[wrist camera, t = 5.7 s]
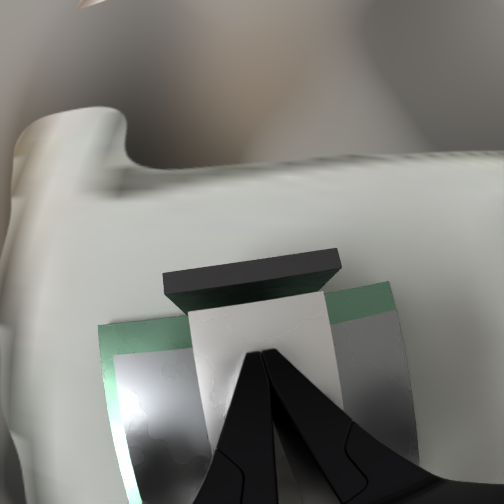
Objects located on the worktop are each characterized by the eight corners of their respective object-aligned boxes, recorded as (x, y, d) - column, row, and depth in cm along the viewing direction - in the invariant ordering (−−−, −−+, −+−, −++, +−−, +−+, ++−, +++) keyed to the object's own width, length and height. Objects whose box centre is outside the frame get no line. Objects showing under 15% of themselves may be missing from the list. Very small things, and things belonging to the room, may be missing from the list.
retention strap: (354, 592, 6) (359, 599, 6) (258, 612, 6) (259, 620, 5) (318, 294, 10) (323, 290, 9) (190, 313, 10) (187, 311, 9)
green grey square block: (412, 518, 12) (489, 569, 4) (159, 566, 11) (123, 646, 3) (381, 285, 18) (469, 227, 10) (104, 327, 16) (11, 293, 8)
